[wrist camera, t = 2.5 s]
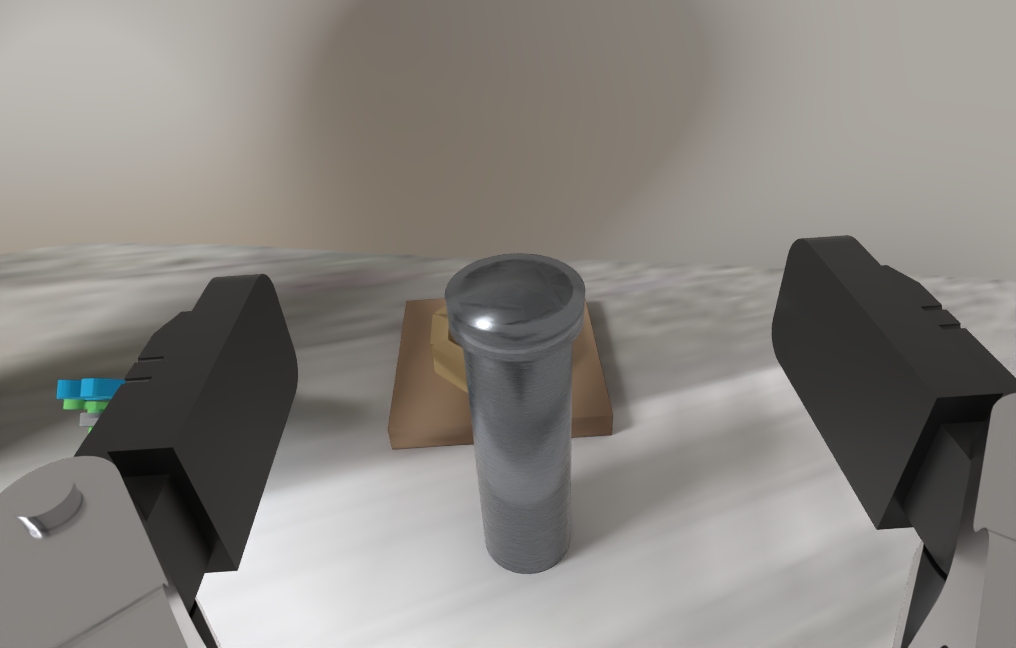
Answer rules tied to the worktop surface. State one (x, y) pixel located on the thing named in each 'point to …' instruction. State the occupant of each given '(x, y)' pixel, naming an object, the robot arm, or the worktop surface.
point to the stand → (443, 386)
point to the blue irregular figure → (88, 396)
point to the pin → (520, 398)
